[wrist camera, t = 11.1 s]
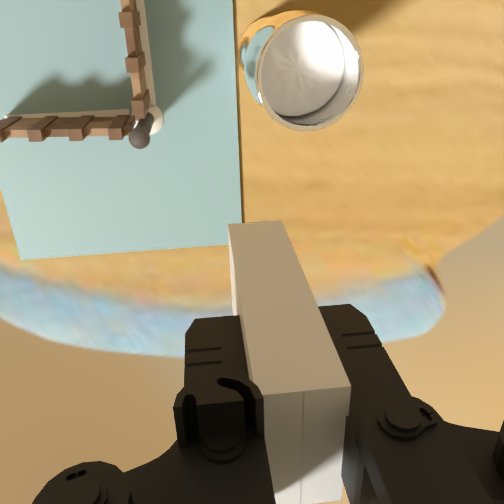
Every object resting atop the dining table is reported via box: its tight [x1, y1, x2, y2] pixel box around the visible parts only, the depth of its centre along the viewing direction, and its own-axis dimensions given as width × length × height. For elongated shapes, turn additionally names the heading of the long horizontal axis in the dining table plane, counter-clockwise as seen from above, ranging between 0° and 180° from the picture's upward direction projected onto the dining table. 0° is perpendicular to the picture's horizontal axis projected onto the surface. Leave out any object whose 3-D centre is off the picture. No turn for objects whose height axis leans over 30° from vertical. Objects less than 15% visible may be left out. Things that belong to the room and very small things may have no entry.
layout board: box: [0, 0, 242, 260], centre depth 42 cm, size 26×22×1 cm
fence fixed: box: [118, 0, 154, 149], centre depth 36 cm, size 13×2×8 cm, turn 2°
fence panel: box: [0, 115, 136, 143], centre depth 39 cm, size 11×1×5 cm, turn 90°
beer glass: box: [238, 10, 364, 131], centre depth 35 cm, size 7×7×15 cm
